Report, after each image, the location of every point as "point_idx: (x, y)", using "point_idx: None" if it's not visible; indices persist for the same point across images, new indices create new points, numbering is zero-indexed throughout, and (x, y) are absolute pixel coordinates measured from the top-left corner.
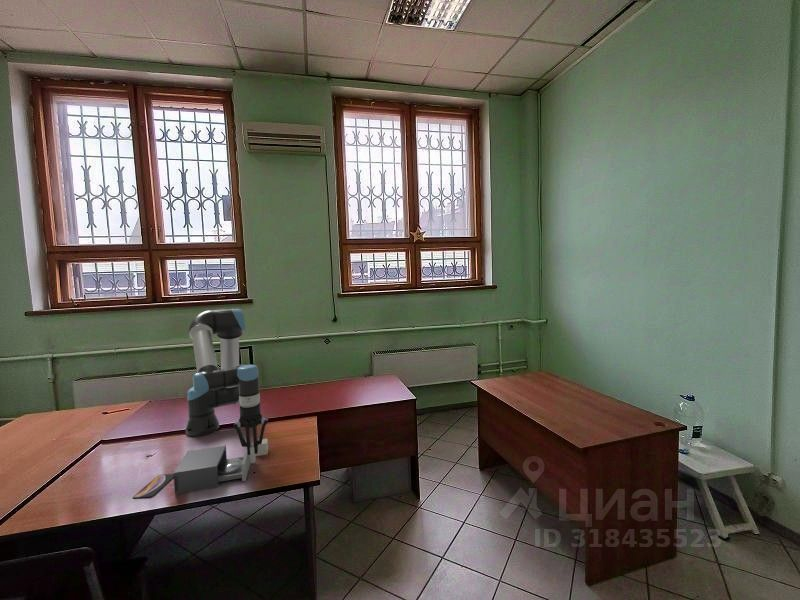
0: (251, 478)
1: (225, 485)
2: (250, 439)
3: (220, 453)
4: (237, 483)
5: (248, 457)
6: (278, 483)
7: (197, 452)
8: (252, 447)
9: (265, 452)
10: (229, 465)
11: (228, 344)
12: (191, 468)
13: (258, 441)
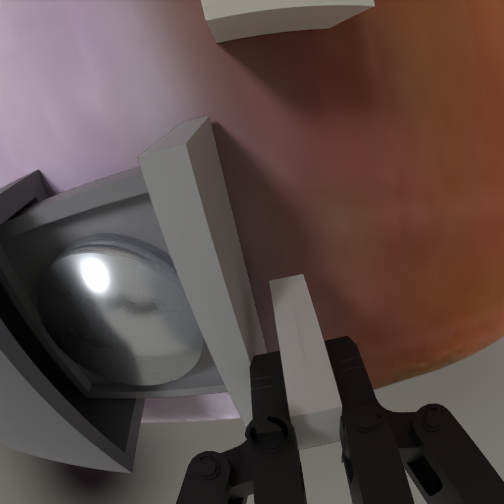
0: None
1: None
2: (304, 497)
3: (18, 380)
4: None
5: (246, 317)
6: (415, 367)
7: None
8: (324, 443)
9: (321, 26)
10: (123, 346)
11: None
12: (32, 450)
13: (403, 462)
